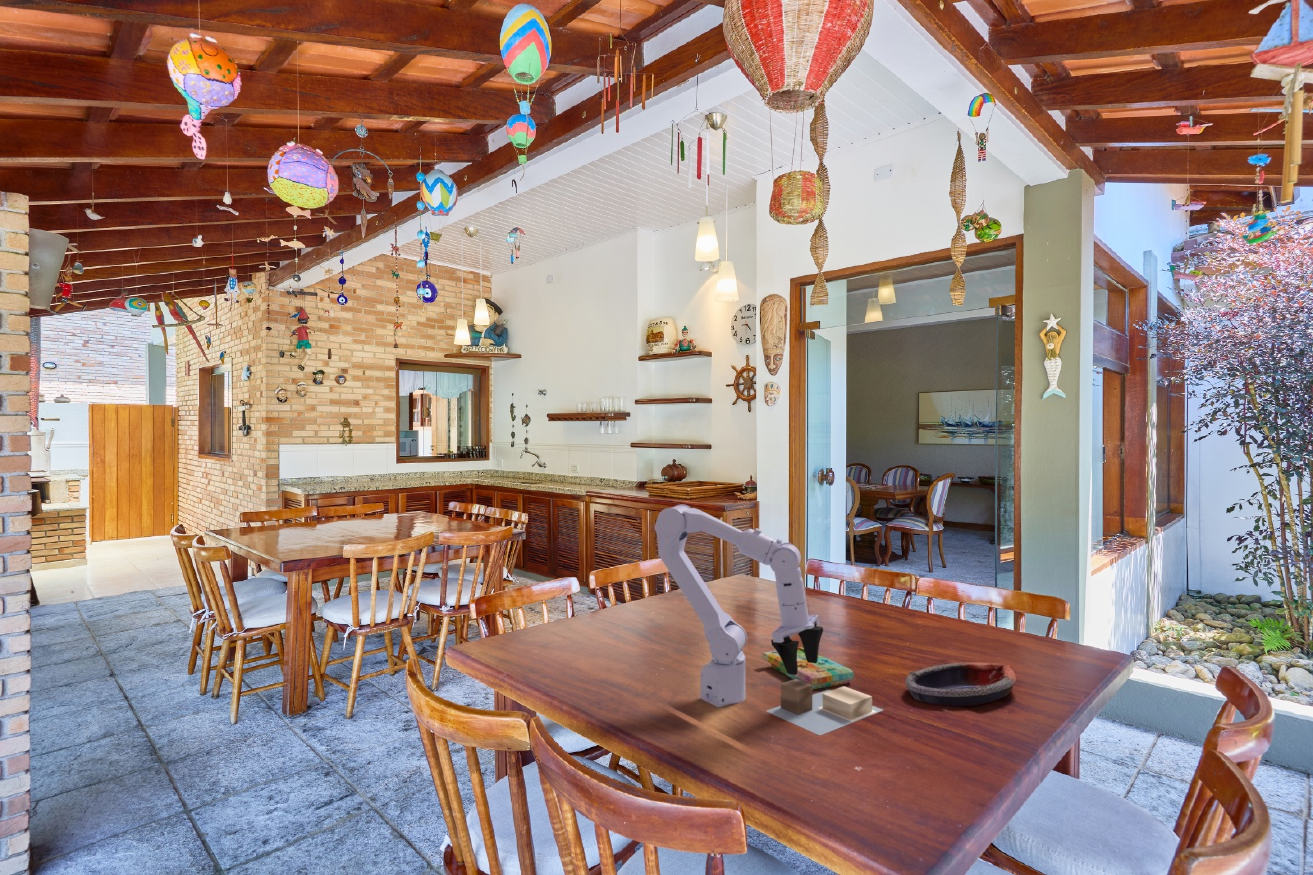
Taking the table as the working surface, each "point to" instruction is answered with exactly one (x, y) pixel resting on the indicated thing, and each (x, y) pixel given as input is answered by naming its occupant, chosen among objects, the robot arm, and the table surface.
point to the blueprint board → (818, 717)
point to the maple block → (847, 702)
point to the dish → (961, 683)
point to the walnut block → (796, 696)
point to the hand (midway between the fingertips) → (802, 668)
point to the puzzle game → (812, 670)
